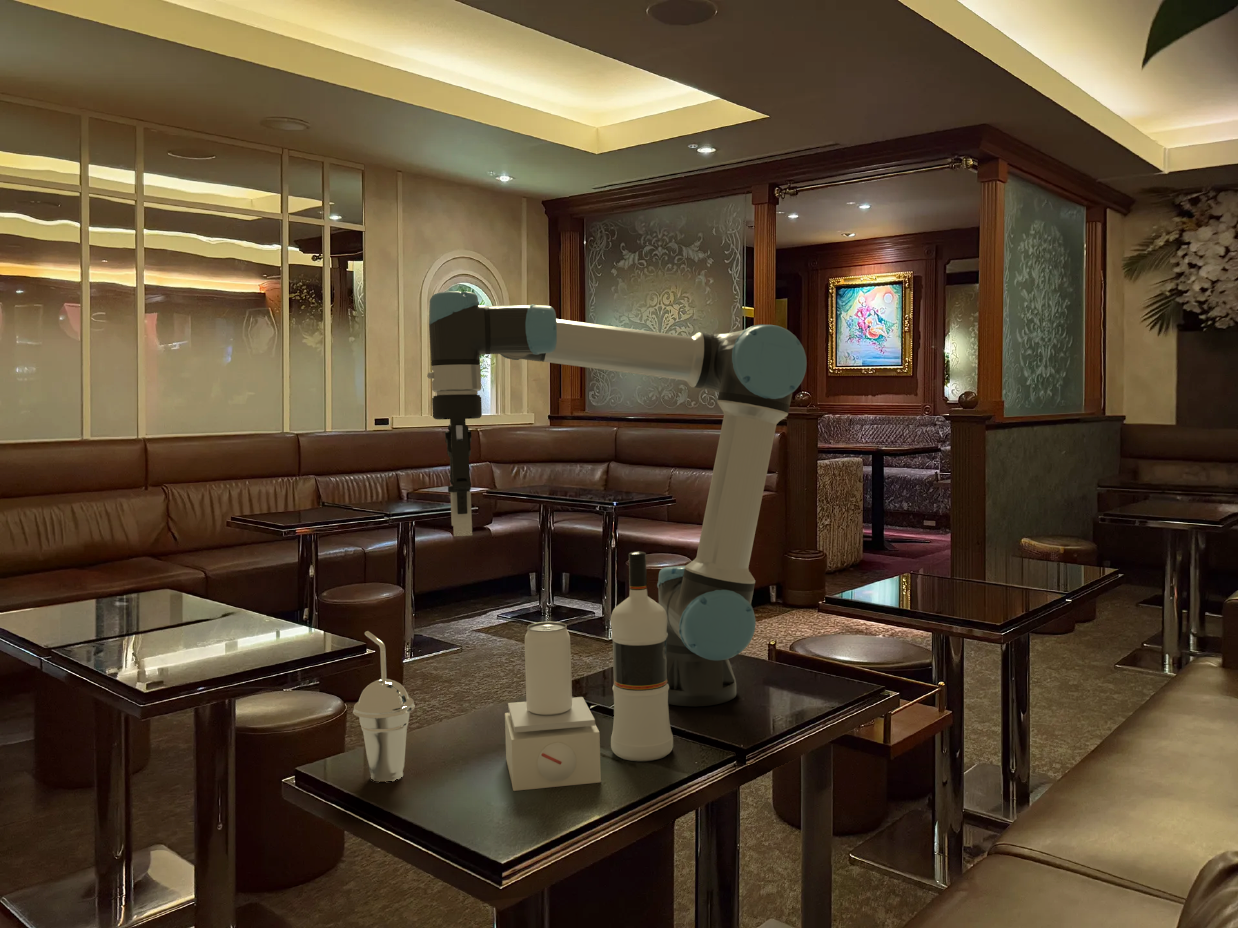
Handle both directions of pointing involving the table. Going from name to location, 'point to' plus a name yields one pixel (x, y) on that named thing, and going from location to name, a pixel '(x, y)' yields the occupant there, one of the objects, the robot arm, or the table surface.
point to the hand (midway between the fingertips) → (461, 530)
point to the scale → (552, 747)
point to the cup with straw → (384, 722)
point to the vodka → (640, 672)
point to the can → (548, 669)
